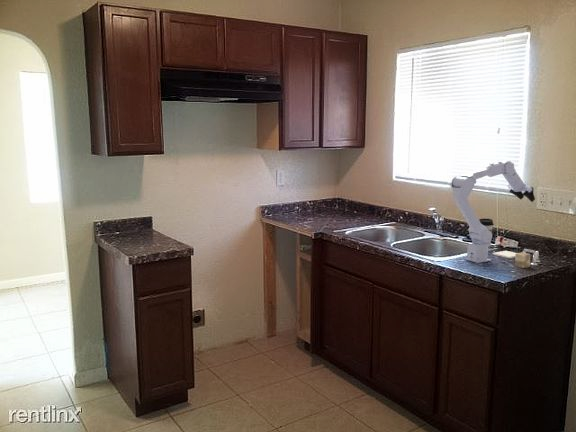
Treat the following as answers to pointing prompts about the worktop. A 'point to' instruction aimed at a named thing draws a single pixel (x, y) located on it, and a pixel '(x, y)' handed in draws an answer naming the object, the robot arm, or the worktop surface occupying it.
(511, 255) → the cream pad
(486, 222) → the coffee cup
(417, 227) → the worktop surface
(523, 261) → the maple block
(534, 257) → the grey white arch
